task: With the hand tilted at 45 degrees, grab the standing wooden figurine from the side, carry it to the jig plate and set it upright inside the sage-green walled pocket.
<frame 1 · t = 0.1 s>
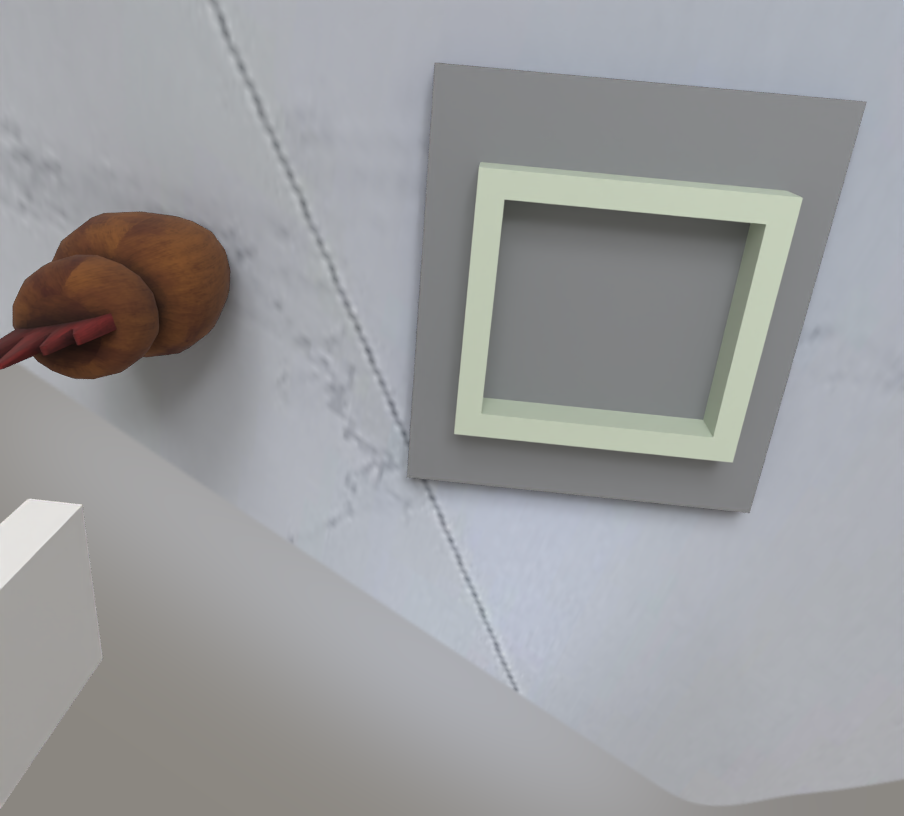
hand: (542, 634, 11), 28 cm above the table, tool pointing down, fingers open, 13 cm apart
jig plate: (605, 303, 37), on the table
wooden figurine: (183, 260, 38), on the table
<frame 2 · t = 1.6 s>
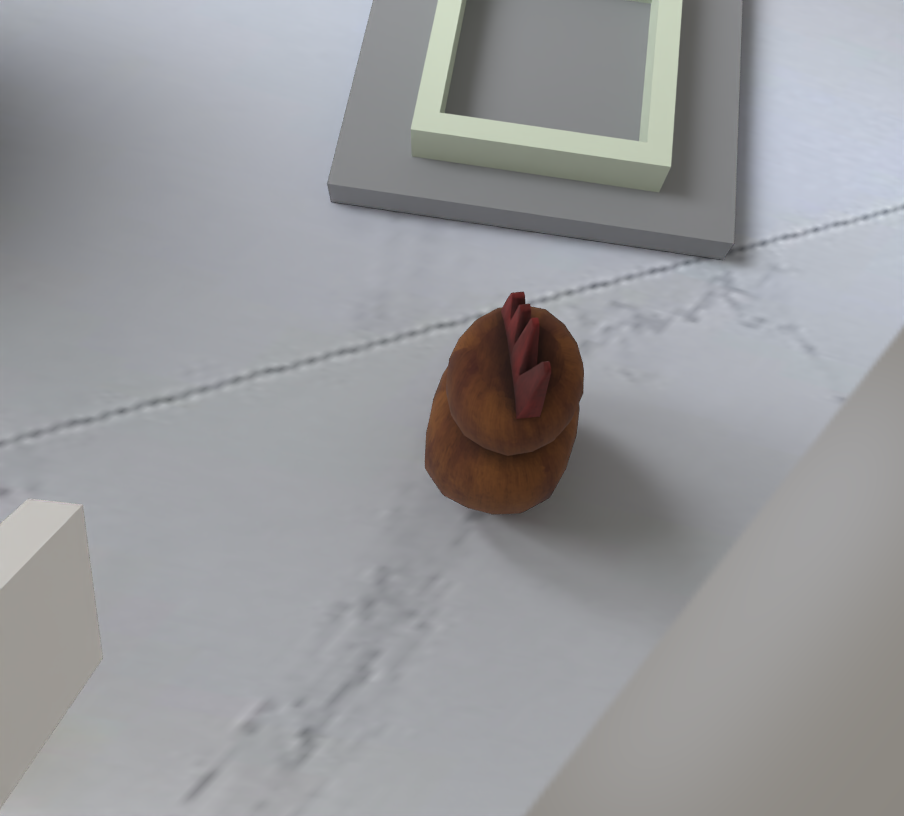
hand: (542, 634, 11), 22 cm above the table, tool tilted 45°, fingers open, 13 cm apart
jig plate: (545, 89, 42), on the table
wooden figurine: (493, 457, 35), on the table
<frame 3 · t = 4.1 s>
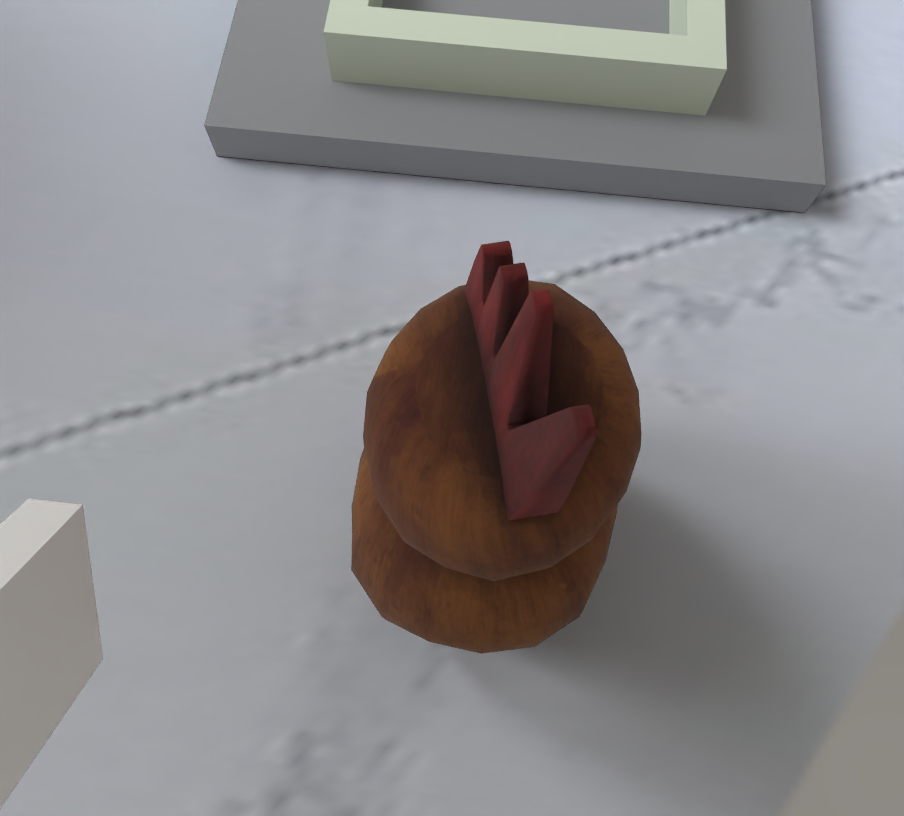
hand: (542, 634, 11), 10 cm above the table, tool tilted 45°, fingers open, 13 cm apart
wooden figurine: (475, 535, 22), on the table
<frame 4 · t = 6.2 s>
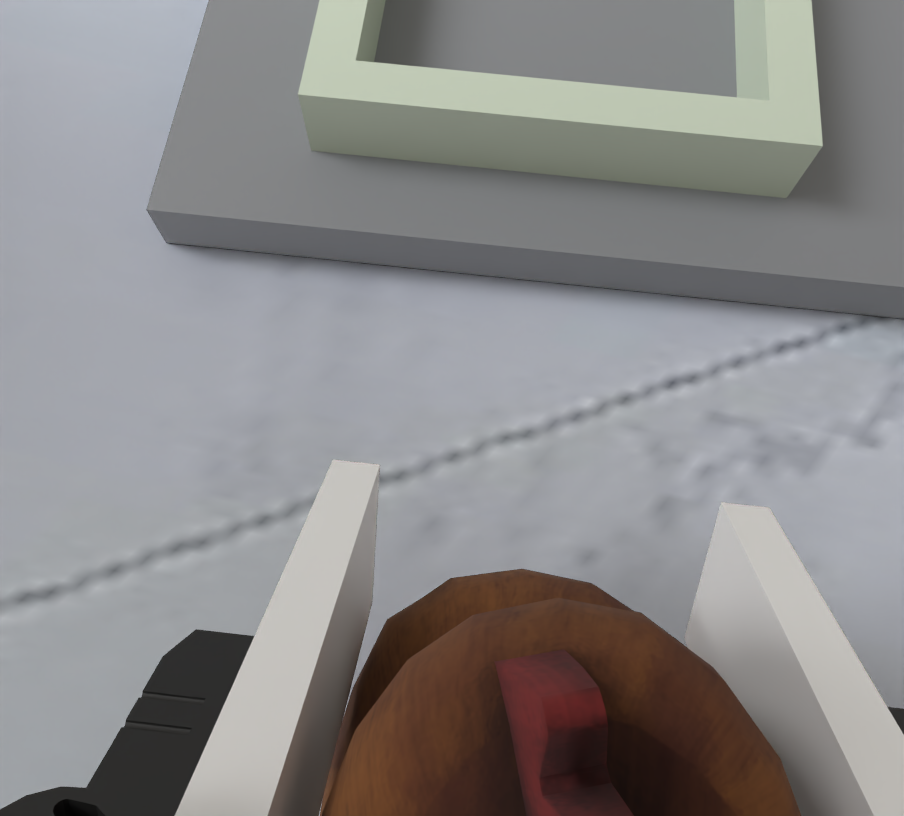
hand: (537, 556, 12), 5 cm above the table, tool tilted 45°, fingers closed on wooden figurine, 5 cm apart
jig plate: (554, 27, 24), on the table
wooden figurine: (493, 770, 16), on the table, touching gripper
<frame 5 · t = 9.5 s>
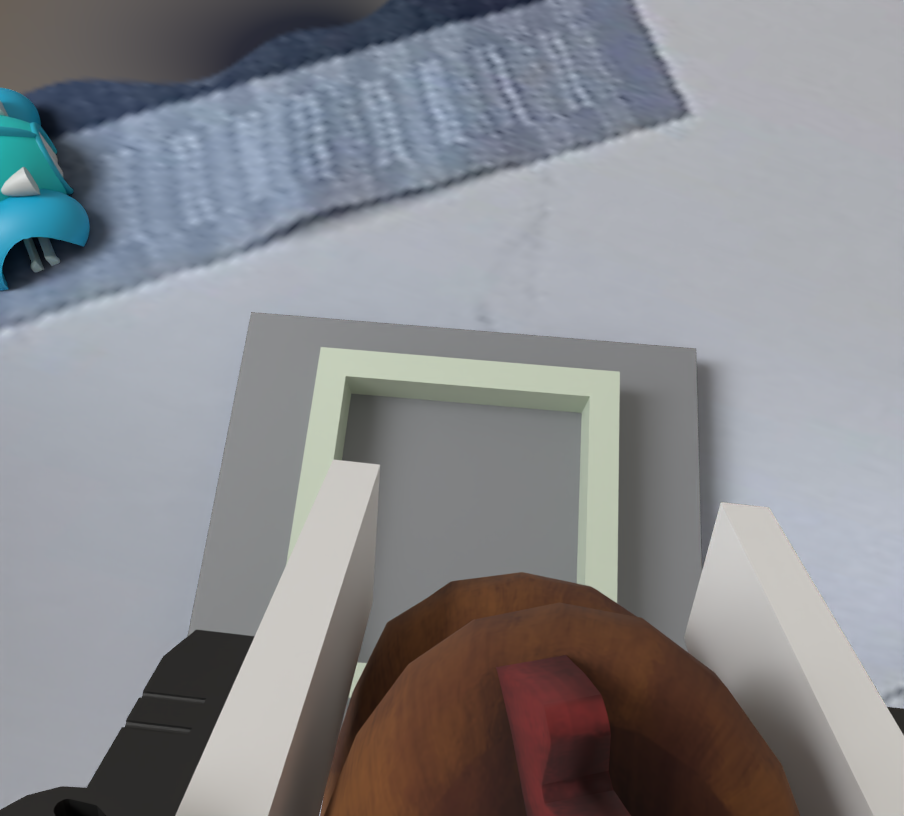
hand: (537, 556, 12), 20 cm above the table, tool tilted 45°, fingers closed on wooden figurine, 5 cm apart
jig plate: (454, 535, 33), on the table
wooden figurine: (492, 773, 16), point 14 cm above the table, touching gripper
when the fingers open (8 cm above the table, at t = 13.1 s): wooden figurine drops 1 cm, resting on jig plate.
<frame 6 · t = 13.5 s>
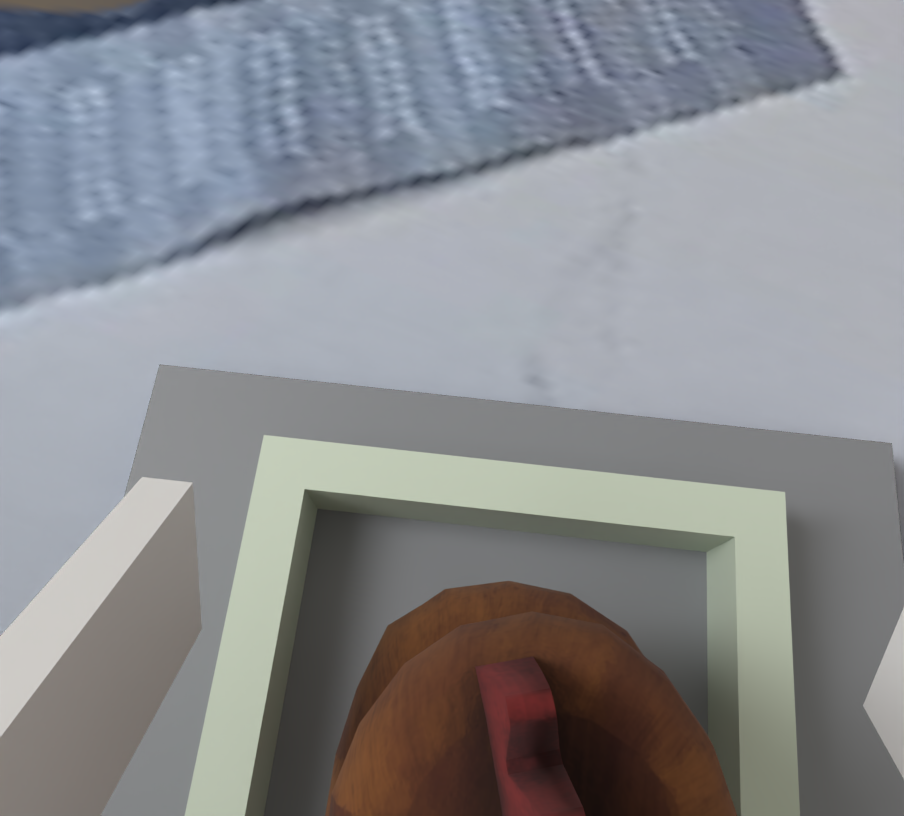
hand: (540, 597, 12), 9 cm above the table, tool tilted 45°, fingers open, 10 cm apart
jig plate: (487, 760, 19), on the table
wooden figurine: (486, 763, 18), point 1 cm above the table, touching jig plate
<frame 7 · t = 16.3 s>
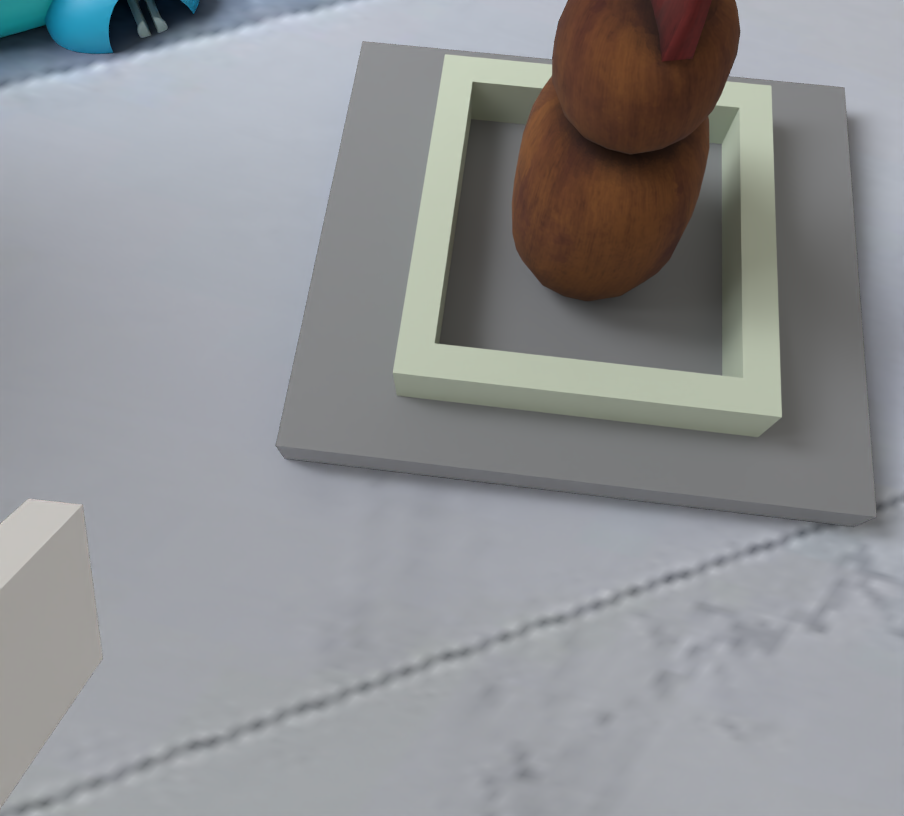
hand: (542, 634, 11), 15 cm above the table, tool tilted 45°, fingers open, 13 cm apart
jig plate: (580, 270, 30), on the table
wooden figurine: (583, 251, 29), point 1 cm above the table, touching jig plate
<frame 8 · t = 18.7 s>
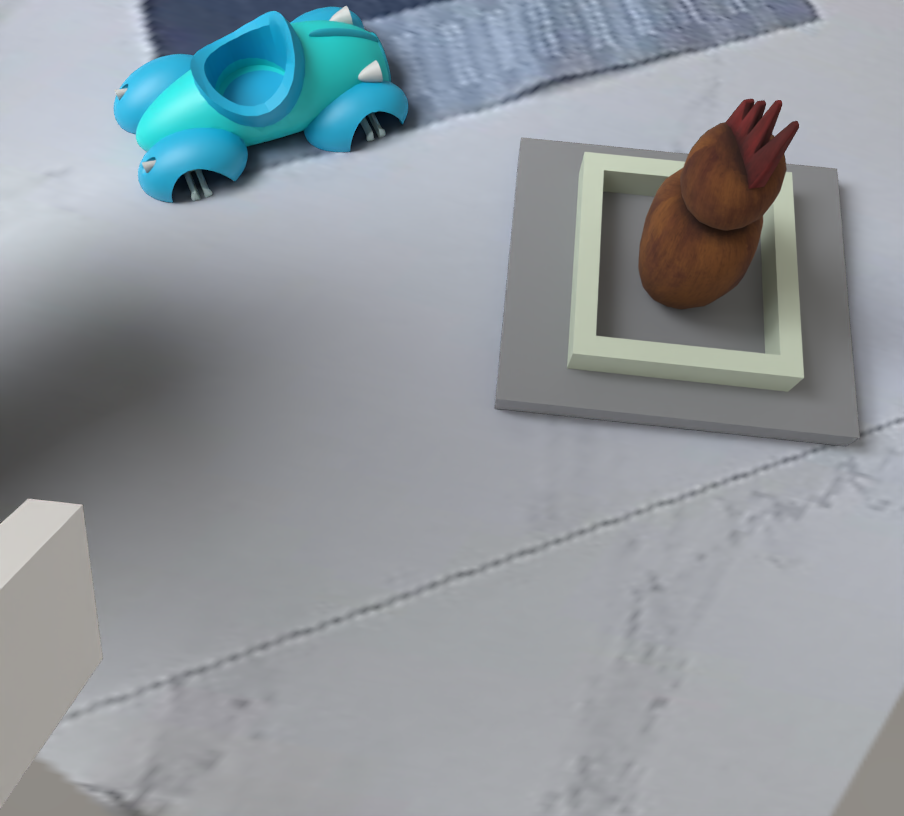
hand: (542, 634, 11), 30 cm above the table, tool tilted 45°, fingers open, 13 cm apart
toy car: (263, 118, 52), on the table
jig plate: (670, 288, 47), on the table
wooden figurine: (674, 277, 45), point 1 cm above the table, touching jig plate
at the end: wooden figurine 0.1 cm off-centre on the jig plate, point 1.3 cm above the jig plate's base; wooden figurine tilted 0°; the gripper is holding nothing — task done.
